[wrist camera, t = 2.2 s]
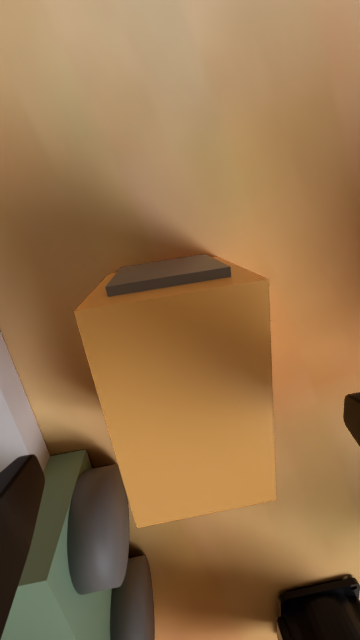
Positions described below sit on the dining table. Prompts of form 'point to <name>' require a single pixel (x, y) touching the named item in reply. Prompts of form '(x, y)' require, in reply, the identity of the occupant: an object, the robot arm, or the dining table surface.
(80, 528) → the green wheeled block
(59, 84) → the dining table surface
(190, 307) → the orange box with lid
